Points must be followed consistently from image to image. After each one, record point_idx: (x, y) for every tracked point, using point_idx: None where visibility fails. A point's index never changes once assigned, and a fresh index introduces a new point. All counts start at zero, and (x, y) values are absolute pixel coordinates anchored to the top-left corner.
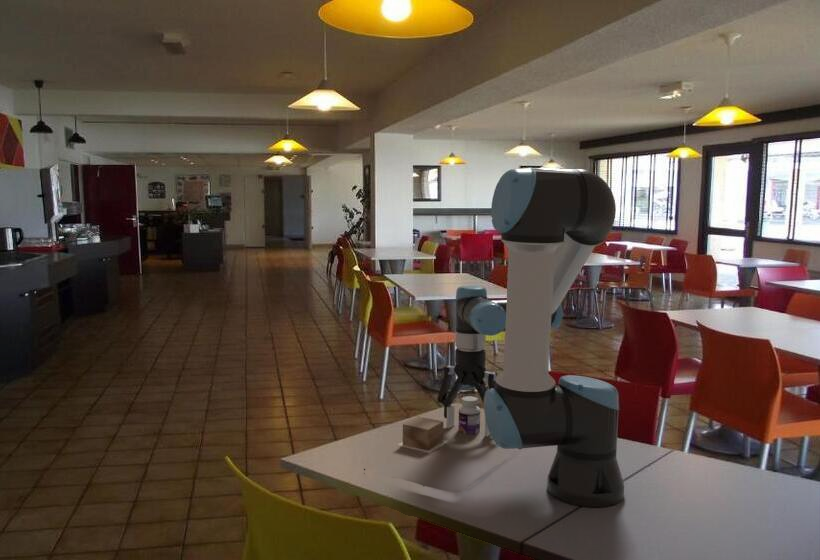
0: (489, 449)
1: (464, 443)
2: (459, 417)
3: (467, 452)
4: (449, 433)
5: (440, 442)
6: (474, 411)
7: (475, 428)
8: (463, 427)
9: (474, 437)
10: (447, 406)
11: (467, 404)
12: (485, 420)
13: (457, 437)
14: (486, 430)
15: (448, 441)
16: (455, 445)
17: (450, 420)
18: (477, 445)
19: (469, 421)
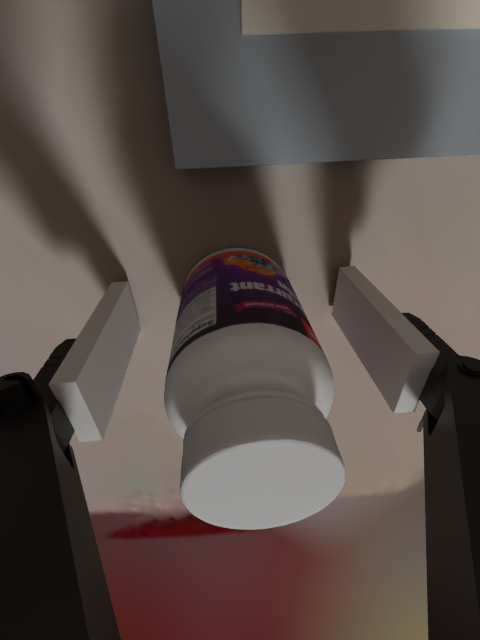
0: (17, 187)
1: (193, 185)
2: (294, 311)
3: (66, 23)
4: (337, 270)
5: None
6: (174, 378)
7: (180, 306)
8: (244, 271)
9: None
10: (438, 367)
11: (238, 406)
12: (87, 349)
13: (275, 245)
14: (100, 310)
15: (241, 24)
16: None
17: (362, 310)
18: (115, 203)
19: (204, 303)
